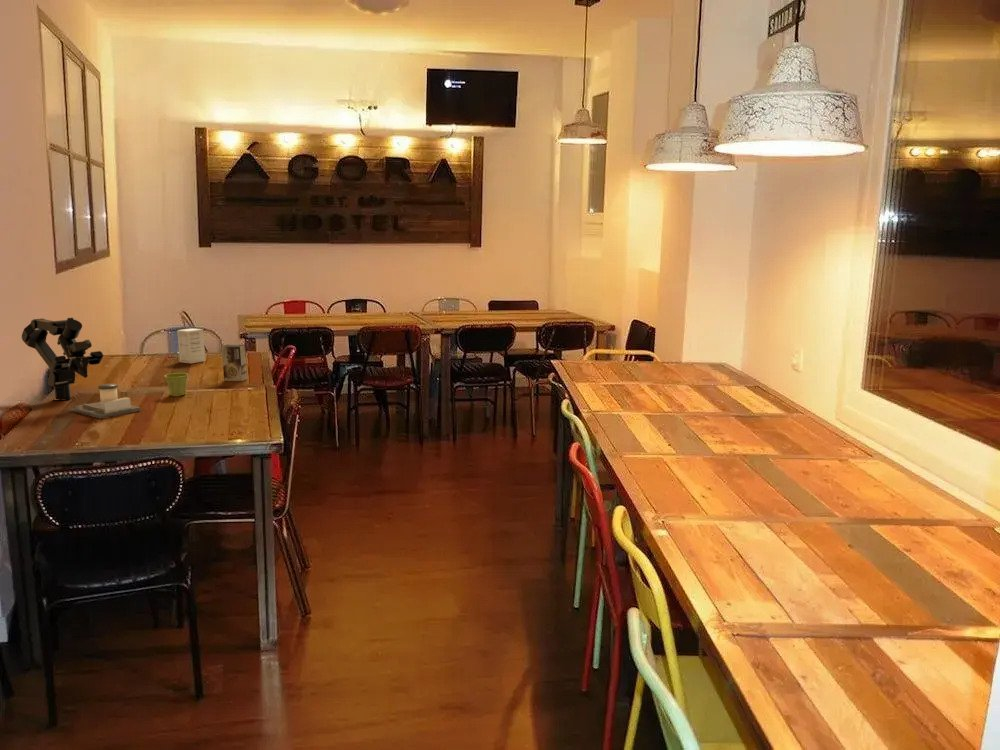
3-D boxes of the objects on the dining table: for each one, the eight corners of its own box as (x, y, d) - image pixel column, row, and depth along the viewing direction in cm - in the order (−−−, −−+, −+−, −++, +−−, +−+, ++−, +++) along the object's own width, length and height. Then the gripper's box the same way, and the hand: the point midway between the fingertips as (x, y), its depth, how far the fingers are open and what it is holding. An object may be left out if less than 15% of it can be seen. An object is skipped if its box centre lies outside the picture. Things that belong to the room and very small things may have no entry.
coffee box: (248, 378, 382) (246, 344, 378) (242, 381, 375) (240, 346, 372) (229, 378, 382) (227, 344, 379) (223, 381, 376) (221, 346, 373)
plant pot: (164, 398, 341) (163, 377, 339) (167, 393, 350) (165, 373, 348) (188, 396, 343) (187, 376, 342) (190, 392, 352) (189, 372, 351)
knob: (96, 408, 315) (94, 385, 313) (113, 404, 320) (111, 382, 319) (105, 410, 311) (103, 387, 309) (123, 407, 316) (121, 385, 315)
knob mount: (71, 410, 318) (69, 397, 317) (111, 403, 331) (109, 390, 330) (99, 419, 305) (98, 404, 304) (140, 411, 318) (139, 397, 317)
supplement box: (206, 361, 427) (203, 329, 424) (191, 363, 420) (188, 331, 416) (194, 359, 432) (191, 327, 429) (179, 362, 425) (176, 329, 421)
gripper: (51, 336, 316) (67, 368, 312) (99, 331, 331) (115, 361, 326) (43, 354, 322) (59, 385, 318) (91, 348, 337) (107, 378, 333)
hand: (86, 377), depth 324 cm, fingers closed
